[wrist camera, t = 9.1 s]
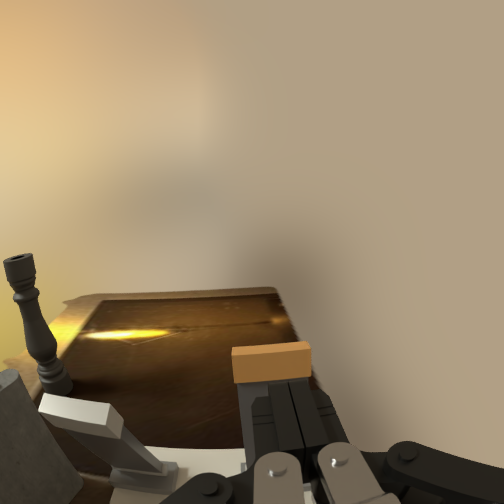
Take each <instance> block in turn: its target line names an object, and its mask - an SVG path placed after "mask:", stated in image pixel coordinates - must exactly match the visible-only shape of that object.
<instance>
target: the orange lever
mask: <svg viewBox="0 0 504 504" xmlns="http://www.w3.org/2000/svg"><path fill="white" fill-rule="evenodd" d="M232 364H233V374H234V383H237V386H238V396H239V405H240V415H241V423H242V432H243V441H244V449H245V457H246V465H245V471H246V470H247V469H249V468H250V467H251V465H252V464H253V462H254V460H255V446H254V435H253V423H252V412H251V405H252V403H253V402H254V400H255V398H256V397H263V396H268V383H278V382H288V381H294V380H302V379H306V380H307V382H308V376H311V347H310V346H309V344H308V342H307V341H301V342H292V343H282V344H271V345H259V346H245V347H232Z"/></svg>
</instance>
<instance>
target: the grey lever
mask: <svg viewBox="0 0 504 504" xmlns="http://www.w3.org/2000/svg"><path fill="white" fill-rule="evenodd" d="M38 412H40V413H41V414H42V415H43V416H44V417H45V418H46V419H47V420H48V421H49V422H51V423H52V424H53V425H54V426H56V427H60V428H63V429H64V430H65V431H66V432H68V433H69V434H70V435H71V436H72V437H74V438H75V439H76V440H77V441H79V442H80V443H81V444H83V445H84V446H85V447H86V448H88V449H89V450H90V451H92V452H93V453H94V454H96V455H97V456H99V457H100V458H101V459H103V460H104V461H106V462H107V463H109V464H110V465H111V466H112V468H113V469H115V470H121V471H127V472H133V473H140V474H148V475H156V476H167V475H168V466H167V464H164V463H162V462H160V461H159V460H158V459H157V458H156V457H155V456H154V455H153V454H152V453H151V452H150V451H149V450H147V449H146V448H145V447H144V446H143V445H142V444H141V443H140V442H139V441H138V440H137V439H136V438H135V437H134V436H133V435H132V434H131V433H130V432H129V431H128V430H127V429H126V428H125V426H124V425H123V420H124V419H123V418H122V417H121V416H120V415H119V414H118V413H117V411H116V410H115V409H114V408H113V407H112V405H111V404H107V403H99V402H92V401H85V400H79V399H73V398H67V397H62V396H56V395H51V394H47V393H44V395H43V398H42V401H41V404H40V407H39V410H38Z"/></svg>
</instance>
